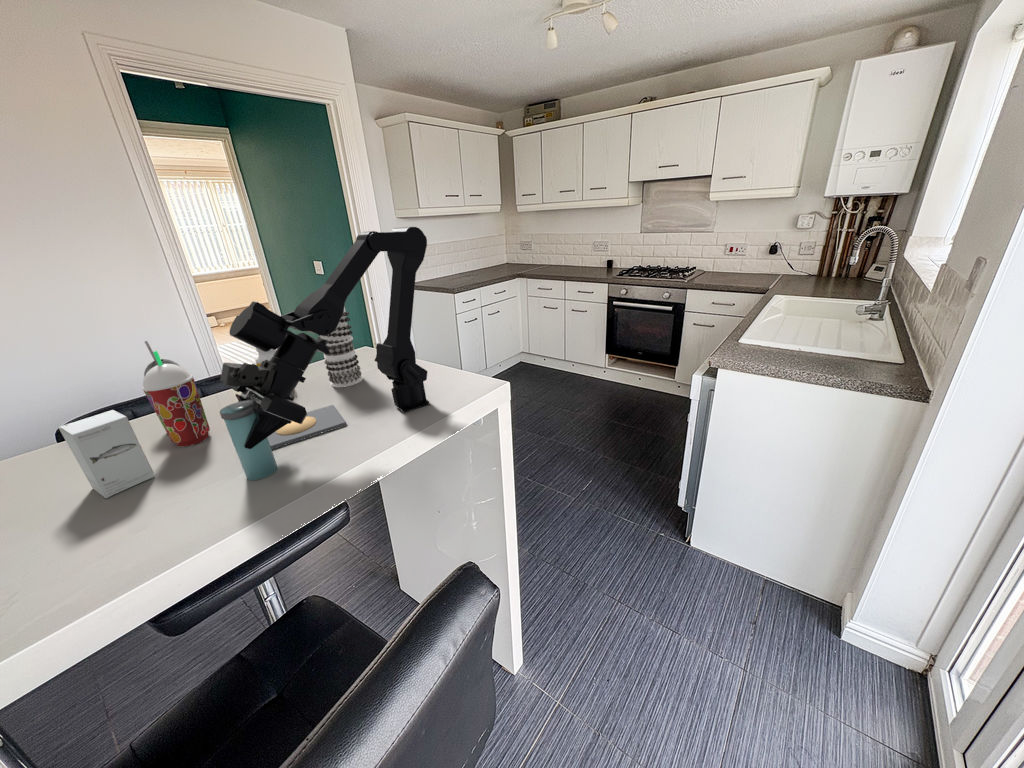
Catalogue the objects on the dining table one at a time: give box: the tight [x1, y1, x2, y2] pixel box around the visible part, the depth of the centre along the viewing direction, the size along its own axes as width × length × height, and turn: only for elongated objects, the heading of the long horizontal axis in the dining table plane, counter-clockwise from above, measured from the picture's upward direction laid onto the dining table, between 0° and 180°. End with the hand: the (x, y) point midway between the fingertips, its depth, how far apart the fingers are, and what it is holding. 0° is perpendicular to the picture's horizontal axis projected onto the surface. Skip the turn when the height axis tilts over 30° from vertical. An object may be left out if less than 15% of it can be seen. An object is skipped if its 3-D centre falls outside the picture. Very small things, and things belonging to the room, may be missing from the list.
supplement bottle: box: [254, 348, 277, 366], centre depth 110 cm, size 7×7×13 cm
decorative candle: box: [317, 305, 363, 388], centre depth 109 cm, size 9×9×25 cm
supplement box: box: [58, 409, 156, 499], centre depth 72 cm, size 7×7×13 cm
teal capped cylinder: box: [219, 400, 278, 481], centre depth 72 cm, size 5×5×13 cm
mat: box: [267, 404, 348, 450], centre depth 89 cm, size 18×12×1 cm, turn 125°
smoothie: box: [141, 350, 211, 448], centre depth 84 cm, size 8×8×20 cm
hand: (241, 443), depth 71 cm, fingers closed on teal capped cylinder, 5 cm apart
